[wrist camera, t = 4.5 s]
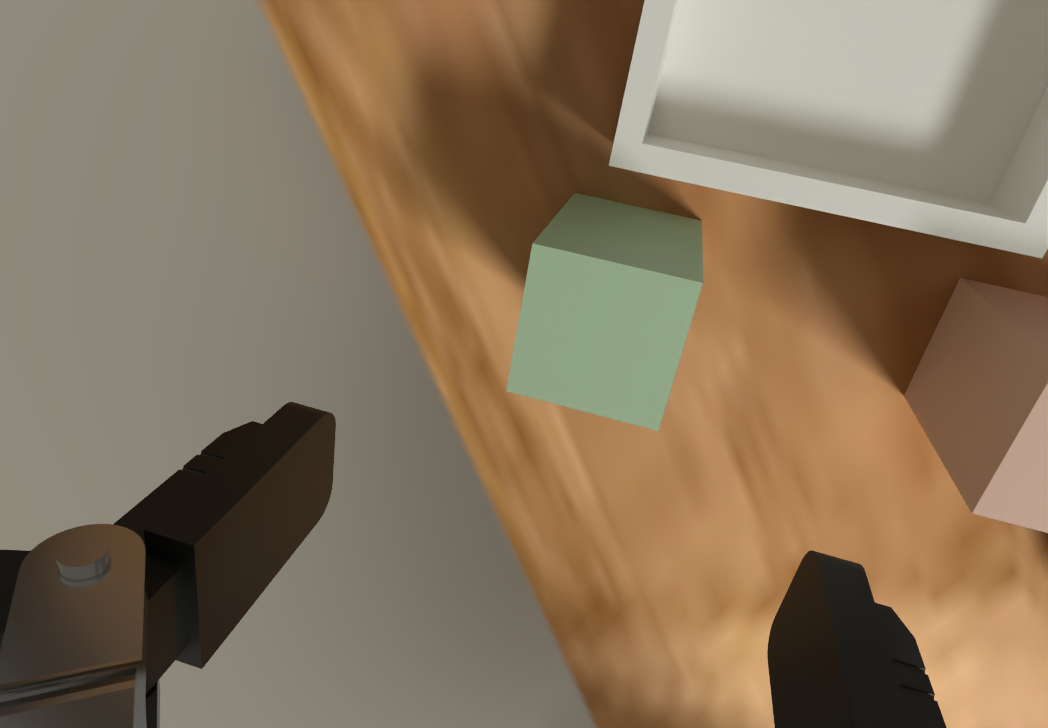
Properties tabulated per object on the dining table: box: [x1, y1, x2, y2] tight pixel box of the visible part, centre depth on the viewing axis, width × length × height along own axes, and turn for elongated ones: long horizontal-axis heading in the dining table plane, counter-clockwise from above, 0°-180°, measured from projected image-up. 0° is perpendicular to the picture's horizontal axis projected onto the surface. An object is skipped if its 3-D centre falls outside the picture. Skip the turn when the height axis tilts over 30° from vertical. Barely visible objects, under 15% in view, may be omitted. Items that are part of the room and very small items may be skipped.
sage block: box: [506, 193, 703, 431], centre depth 22 cm, size 4×4×7 cm
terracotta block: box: [904, 278, 1048, 533], centre depth 20 cm, size 4×4×7 cm
